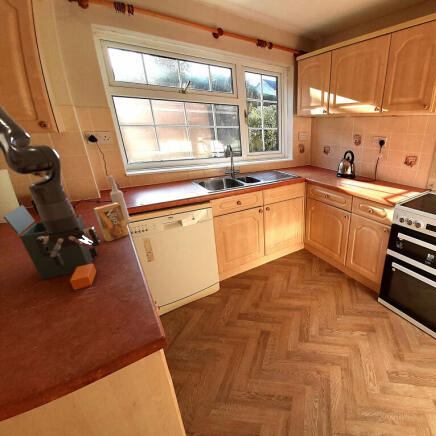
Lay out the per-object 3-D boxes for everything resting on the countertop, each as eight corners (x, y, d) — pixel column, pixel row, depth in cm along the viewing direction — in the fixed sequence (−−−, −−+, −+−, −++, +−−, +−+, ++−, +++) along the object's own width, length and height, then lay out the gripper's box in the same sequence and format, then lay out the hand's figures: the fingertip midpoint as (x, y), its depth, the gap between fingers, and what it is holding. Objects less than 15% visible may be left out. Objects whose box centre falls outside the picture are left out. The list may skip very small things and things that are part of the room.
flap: (19, 234, 76) (17, 234, 76) (34, 220, 87) (33, 221, 87) (4, 216, 73) (3, 217, 73) (22, 204, 84) (21, 205, 84)
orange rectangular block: (74, 290, 77) (69, 280, 76) (80, 275, 84) (76, 267, 83) (91, 285, 79) (87, 276, 78) (96, 271, 86) (92, 263, 85)
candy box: (125, 232, 116) (116, 202, 110) (129, 234, 114) (120, 203, 108) (104, 239, 110) (93, 208, 104) (108, 242, 107) (96, 209, 102)
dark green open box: (41, 279, 83) (19, 236, 76) (53, 262, 93) (35, 222, 87) (89, 268, 88) (71, 227, 82) (95, 252, 99) (80, 215, 93)
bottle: (119, 225, 124) (103, 177, 115) (119, 222, 128) (104, 175, 119) (131, 223, 127) (116, 176, 117) (131, 220, 131) (117, 174, 121)
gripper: (90, 206, 79) (106, 250, 85) (31, 216, 73) (53, 262, 79) (85, 213, 73) (103, 260, 79) (20, 224, 67) (46, 274, 73)
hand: (78, 261), depth 79 cm, fingers open, 8 cm apart
